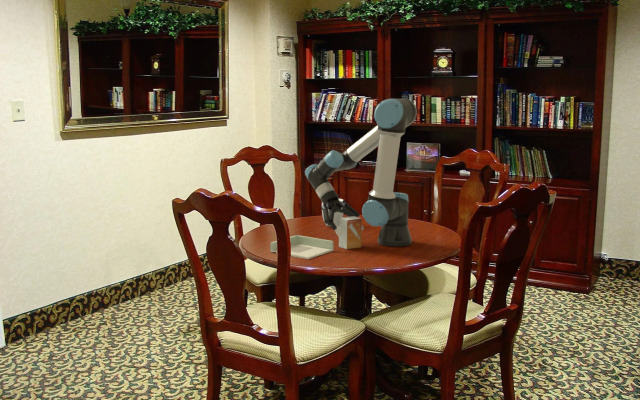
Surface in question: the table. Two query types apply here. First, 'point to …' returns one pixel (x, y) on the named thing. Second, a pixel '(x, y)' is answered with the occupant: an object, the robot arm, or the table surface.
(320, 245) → the tray
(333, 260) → the table surface
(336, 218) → the mug
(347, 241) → the small box
